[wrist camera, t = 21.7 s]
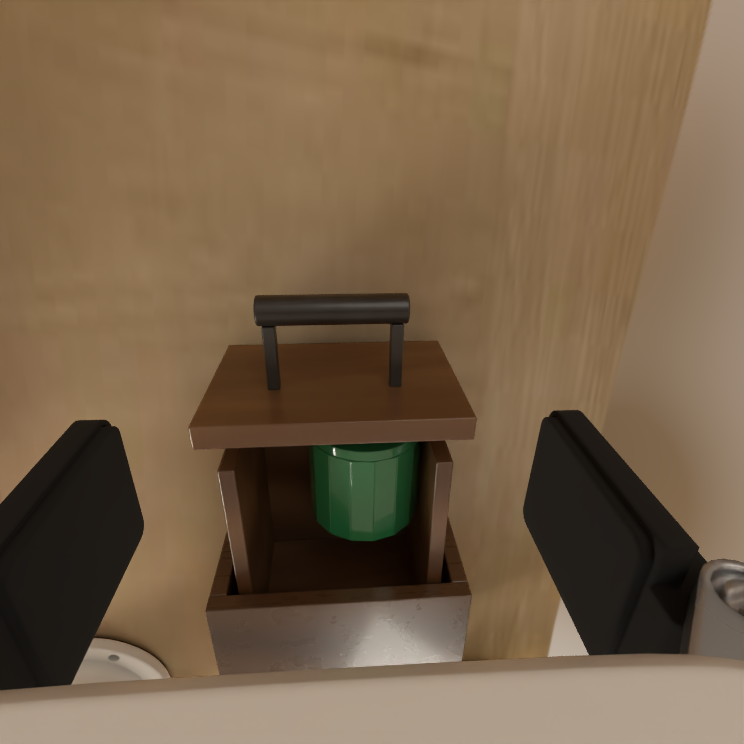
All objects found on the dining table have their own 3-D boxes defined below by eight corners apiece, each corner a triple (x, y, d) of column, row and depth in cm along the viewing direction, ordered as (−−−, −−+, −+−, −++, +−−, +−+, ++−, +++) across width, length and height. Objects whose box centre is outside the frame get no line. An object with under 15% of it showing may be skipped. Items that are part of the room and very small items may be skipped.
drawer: (217, 266, 26) (167, 323, 18) (443, 263, 27) (489, 318, 19) (255, 538, 35) (232, 655, 27) (423, 529, 36) (449, 641, 28)
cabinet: (241, 475, 34) (204, 611, 24) (433, 467, 35) (472, 595, 25) (264, 628, 41) (242, 779, 32) (421, 619, 42) (447, 762, 32)
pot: (296, 401, 28) (301, 482, 30) (326, 463, 22) (329, 554, 25) (394, 384, 30) (390, 462, 32) (441, 437, 25) (433, 524, 27)
